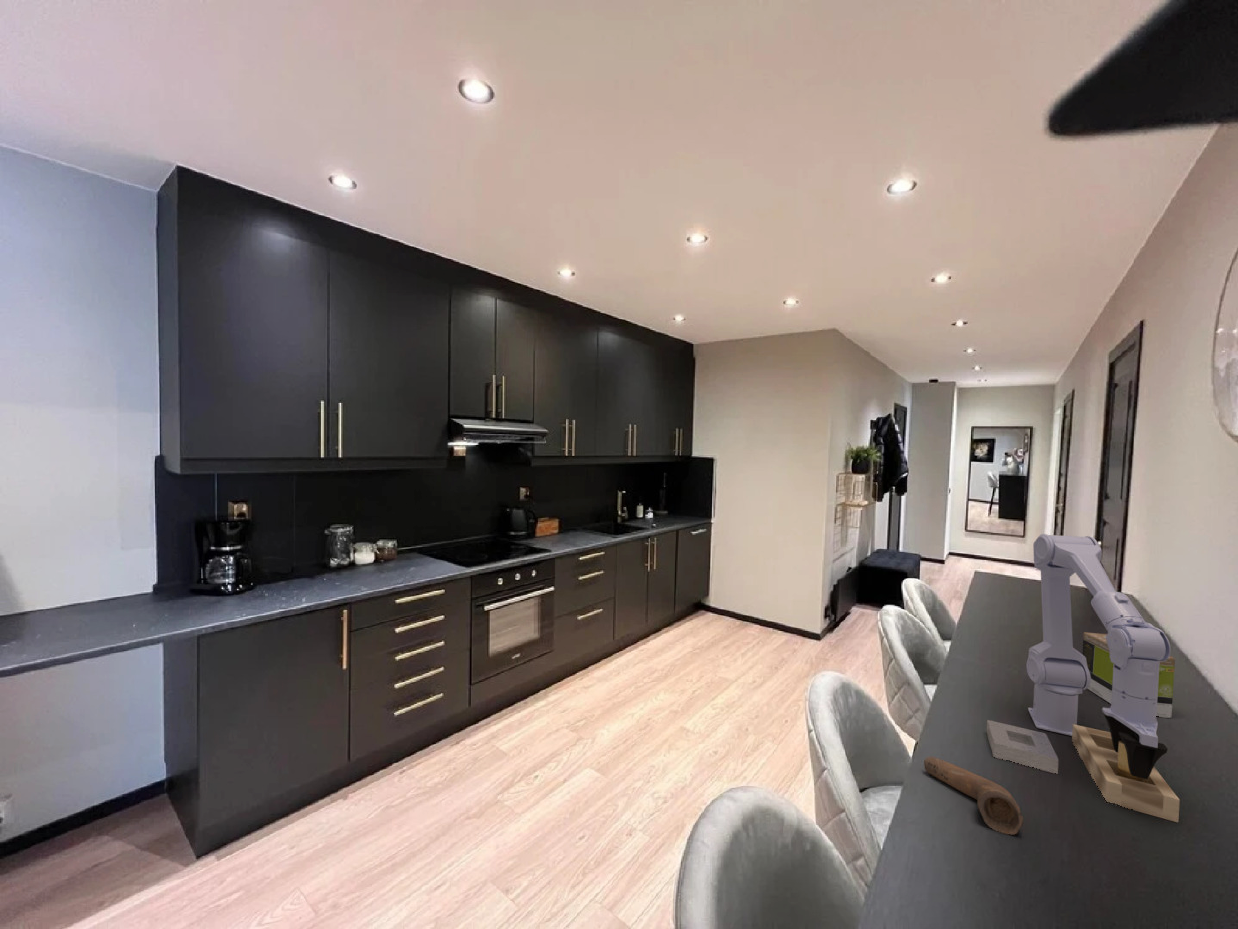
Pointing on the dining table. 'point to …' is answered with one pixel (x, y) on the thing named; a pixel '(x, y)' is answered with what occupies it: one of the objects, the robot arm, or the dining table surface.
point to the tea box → (1103, 673)
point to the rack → (1115, 789)
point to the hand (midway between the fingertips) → (1130, 764)
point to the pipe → (980, 795)
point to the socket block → (1022, 746)
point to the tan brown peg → (1124, 763)
